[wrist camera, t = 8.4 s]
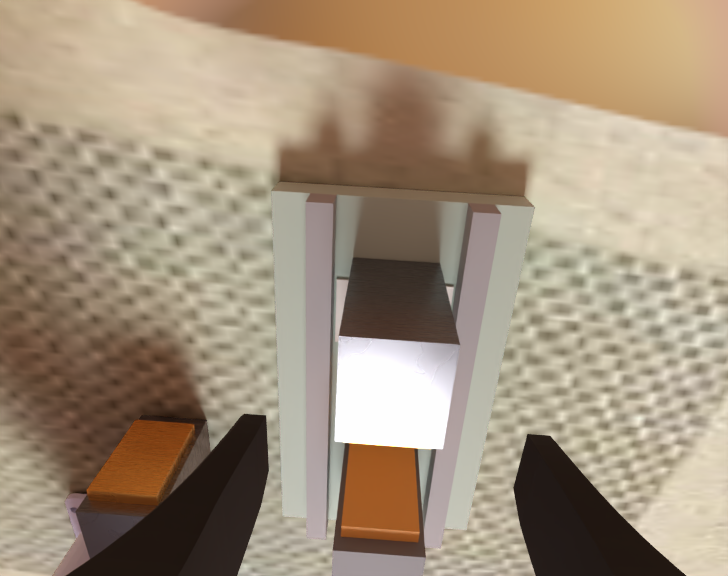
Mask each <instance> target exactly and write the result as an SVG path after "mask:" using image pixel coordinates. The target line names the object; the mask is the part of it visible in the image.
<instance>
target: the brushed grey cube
mask: <svg viewBox="0 0 728 576" xmlns="http://www.w3.org/2000/svg"><path fill="white" fill-rule="evenodd" d="M459 349H460V342H459V338H458V334H457V329H456V325H455V321H454V317H453V313H452V309H451V305H450V301H449V297H448V293H447V289H446V285H445V281H444V277H443V273H442V269H441V265H440V263H428V262H413V261H399V260H384V259H369V258H355V257H353V259H352V265H351V270H350V276H349V281H348V287H347V292H346V298H345V303H344V309H343V314H342V320H341V326H340V331H339V339H338V367H337V394H336V422H335V441H338V442H344V443H358V444H371V445H384V446H397V447H411V448H424V449H443V445H444V439H445V433H446V427H447V421H448V415H449V409H450V403H451V397H452V391H453V385H454V379H455V373H456V367H457V361H458V355H459Z"/></svg>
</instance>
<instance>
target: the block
mask: <svg viewBox="0 0 728 576" xmlns="http://www.w3.org/2000/svg"><path fill="white" fill-rule="evenodd" d="M210 453H211V451H210V443H209V435H208V426H207V420H199V419H186V418H172V417H158V416H144V415H142V416H141V417H140V418H139V420H135V421H134V423H133V424H132V426H131V427H130V428H129V430H128V431H127V433H126V434H125V436H124V437H123V438H122V440H121V441H120V443H119V444H118V446H117V447H116V449H115V450H114V451H113V453H112V454H111V456H110V457H109V459H108V460H107V461H106V463H105V464H104V466H103V467H102V469H101V470H100V471H99V473H98V474H97V476H96V477H95V479H94V480H93V482H92V483H91V484H90V486H89V487H88V489H87V490H86V491H87V495H86V497H85V498H84V500H83V501H82V503H81V504H80V506H79V507H78V509H77V510H76V511H75V513H76V516H77V519H78V522H79V525H80V529H81V532H82V535H83V538H84V541H85V545H86V548H87V551H88V554H89V558H90V559H91V558H92V557H94V556H95V555H97V554H98V553H99V552H101V551H102V550H104V549H105V548H106V547H108V546H109V545H110V544H112V543H113V542H114V541H116V540H117V539H118V538H119V537H121V536H122V535H123V534H124V533H126V532H127V531H128V530H130V529H131V528H132V527H133V526H135V525H136V524H137V523H138V522H139V521H141V520H142V519H143V518H144V517H145V516H147V515H148V514H149V513H150V512H151V511H152V510H153V509H155V508H156V507H157V506H158V505H159V504H160V503H161V502H162V501H163V500H165V499H166V498H167V497H168V496H169V495H170V494H171V493H172V492H173V491H174V490H175V489H176V488H177V487H178V486H179V485H180V484H181V483H182V482H183V481H184V480H185V479H186V478H187V477H188V476H189V475H190V474H191V473H192V472H193V471H194V470H195V469H196V468H197V467H198V466H199V465H200V464H201V462H202V461H203V460H204V459H205V458H206V457H207V456H208V455H209V454H210Z"/></svg>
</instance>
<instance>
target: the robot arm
mask: <svg viewBox="0 0 728 576" xmlns="http://www.w3.org/2000/svg"><path fill="white" fill-rule="evenodd" d="M268 471H269V465H268V445H267V425H266V415H252V414H244V415H242V416H241V417H240V418H239V419H238V421H237V422H236V423H235V424H234V426H233V427H232V428H231V429H230V430H229V432H228V433H227V434H226V435H225V436H224V438H223V439H222V440H221V441H220V442H219V444H218V445H217V446H216V447H215V448H214V449H213V450H212V452H211V453H210V454H209V455H208V456H207V457H206V458H205V459H204V460H203V461H202V462H201V464H200V465H199V466H198V467H197V468H196V469H195V470H194V471H193V472H192V473H191V474H190V475H189V476H188V477H187V478H186V479H185V480H184V481H183V482H182V483H181V484H180V485H179V486H178V487H177V488H176V489H175V490H174V491H173V492H172V493H171V494H170V495H169V496H168V497H167V498H166V499H165V500H163V501H162V502H161V503H160V504H159V505H158V506H157V507H156V508H155V509H153V510H152V511H151V512H150V513H149V514H148V515H147V516H145V517H144V518H143V519H142V520H141V521H139V522H138V523H137V524H136V525H135V526H133V527H132V528H131V529H130V530H128V531H127V532H126V533H124V534H123V535H122V536H121V537H119V538H118V539H117V540H116V541H114V542H113V543H112V544H110V545H109V546H108V547H106V548H105V549H104V550H102V551H101V552H99V553H98V554H97V555H95V556H94V557H92V558H91V559H90V558H89V554H88V551H87V548H86V545H85V541H84V538H83V535H82V532H81V529H80V525H79V522H78V519H77V516H76V513H75V511H76V510H77V509H78V507H79V506H80V504H81V503H82V501H83V500H84V498H85V497H86V495H87V494H79V493H72V494H69V496H68V497H67V498H66V500H65V505H66V508H67V511H68V514H69V517H70V520H71V524H72V527H73V530H74V533H75V536H76V540H75V542H74V543H73V545H72V546H71V548H70V549H69V551H68V552H67V554H66V555H65V557H64V559H63V560H62V562H61V563H60V565H59V566H58V568H57V569H56V571H55V572H54V574H53V575H52V576H237V574H238V571H239V569H240V566H241V563H242V560H243V557H244V554H245V551H246V548H247V545H248V542H249V539H250V537H251V534H252V531H253V528H254V525H255V522H256V519H257V516H258V513H259V510H260V507H261V503H262V498H263V494H264V490H265V485H266V480H267V476H268ZM514 494H515V500H516V505H517V511H518V516H519V521H520V526H521V529H522V533H523V536H524V539H525V543H526V546H527V549H528V553H529V556H530V559H531V562H532V565H533V569H534V572H535V575H536V576H686V575H685V574H684V573H683V572H681V571H680V570H679V569H678V568H677V567H675V566H674V565H673V564H672V563H671V562H670V561H669V560H668V559H666V558H665V557H664V556H663V555H662V554H661V553H660V552H659V551H657V550H656V549H655V548H654V547H653V546H652V545H651V544H650V543H649V542H648V541H646V540H645V539H644V538H643V537H642V536H641V535H640V534H639V533H638V532H637V531H636V530H635V529H634V528H633V527H632V526H631V525H630V524H629V523H628V522H627V521H626V520H625V519H624V518H623V517H622V516H621V515H620V514H619V513H618V512H617V511H616V510H615V509H614V508H613V507H612V506H611V505H610V503H609V502H608V501H607V500H606V499H605V498H604V497H603V496H602V495H601V494H600V493H599V492H598V490H597V489H596V488H595V487H594V486H593V485H592V484H591V483H590V482H589V480H588V479H587V478H586V477H585V476H584V475H583V474H582V472H581V471H580V470H579V469H578V468H577V467H576V465H575V464H574V463H573V462H572V461H571V460H570V458H569V457H568V456H567V455H566V454H565V453H564V451H563V450H562V449H561V448H560V447H559V446H558V444H557V443H556V442H555V441H554V440H553V439H552V437H551V436H546V435H532V434H527V438H526V442H525V446H524V450H523V454H522V457H521V461H520V465H519V469H518V473H517V477H516V480H515V484H514Z"/></svg>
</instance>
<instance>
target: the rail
mask: <svg viewBox="0 0 728 576" xmlns="http://www.w3.org/2000/svg"><path fill="white" fill-rule="evenodd" d="M271 196H272V225H273V253H274V282H275V310H276V339H277V367H278V396H279V424H280V453H281V481H282V509H283V516H287V517H301V518H307V538H311V539H324V540H326V534H327V526H328V520H336V527H335V535H334V544H333V559H332V576H423V571H424V565H425V559H426V555H425V547H429V548H441V544H442V539H443V533H444V528H446V529H459V530H466V529H467V524H468V520H469V515H470V510H471V505H472V501H473V496H474V491H475V487H476V482H477V477H478V472H479V468H480V463H481V458H482V454H483V449H484V444H485V439H486V435H487V430H488V425H489V421H490V416H491V411H492V406H493V402H494V397H495V392H496V388H497V383H498V378H499V373H500V369H501V364H502V359H503V355H504V350H505V345H506V340H507V336H508V331H509V326H510V322H511V317H512V312H513V308H514V303H515V298H516V293H517V289H518V284H519V279H520V275H521V270H522V265H523V260H524V256H525V251H526V246H527V242H528V237H529V232H530V227H531V223H532V218H533V213H534V209H535V207H534V206H533V205H532V204H531V203H530V202H529V201H528V200H527V199H526V197H523V196H506V195H490V194H474V193H458V192H441V191H425V190H409V189H392V188H376V187H360V186H344V185H327V184H311V183H295V182H279V183H278V184H277V185H276V186H275V187H274V188H273V189H272V191H271ZM353 257H355V258H369V259H384V260H399V261H413V262H428V263H440V265H441V269H442V273H443V277H444V281H445V285H446V289H447V293H448V297H449V301H450V305H451V309H452V313H453V317H454V321H455V325H456V329H457V334H458V338H459V342H460V349H459V355H458V361H457V367H456V373H455V379H454V385H453V391H452V397H451V403H450V409H449V415H448V421H447V427H446V433H445V439H444V445H443V449H424V448H411V447H397V446H384V445H371V444H358V443H344V442H338V441H335V422H336V394H337V367H338V339H339V331H340V326H341V320H342V314H343V309H344V303H345V298H346V292H347V287H348V281H349V276H350V270H351V265H352V259H353Z"/></svg>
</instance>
